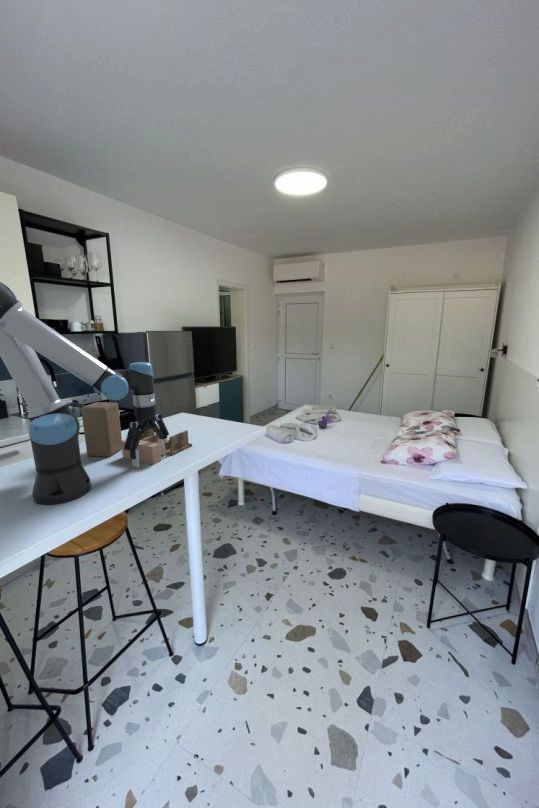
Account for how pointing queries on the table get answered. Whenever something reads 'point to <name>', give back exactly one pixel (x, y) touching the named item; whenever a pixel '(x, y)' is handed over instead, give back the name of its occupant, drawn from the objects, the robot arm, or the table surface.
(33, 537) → the table surface
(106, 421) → the wooden block
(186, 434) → the rack
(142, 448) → the pinkish tan block
